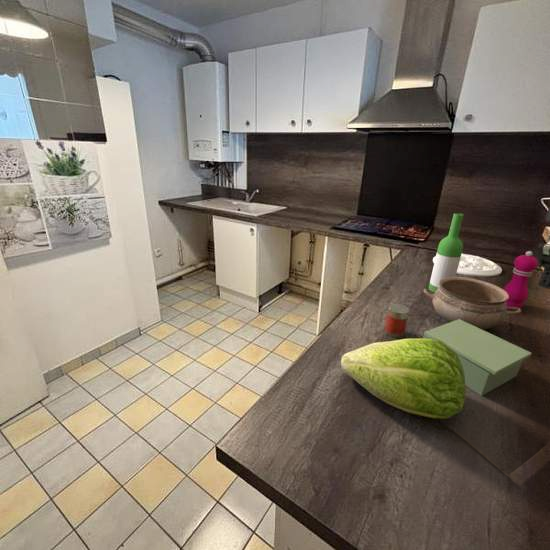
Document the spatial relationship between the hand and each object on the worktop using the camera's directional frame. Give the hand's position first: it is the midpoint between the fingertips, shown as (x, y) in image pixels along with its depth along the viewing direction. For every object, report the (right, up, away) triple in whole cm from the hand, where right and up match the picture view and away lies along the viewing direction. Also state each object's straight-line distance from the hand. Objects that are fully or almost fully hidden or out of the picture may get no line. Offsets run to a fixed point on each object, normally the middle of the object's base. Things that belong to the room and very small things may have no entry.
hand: (546, 286), depth 57 cm
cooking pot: (+5, -13, +34) cm, 36 cm away
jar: (-19, -15, +28) cm, 37 cm away
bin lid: (-6, -14, +12) cm, 20 cm away
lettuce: (-27, -24, +8) cm, 37 cm away
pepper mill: (+29, -9, +45) cm, 54 cm away
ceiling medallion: (+37, +7, +81) cm, 90 cm away
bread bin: (-6, -21, +15) cm, 26 cm away
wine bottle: (+10, -5, +54) cm, 55 cm away
